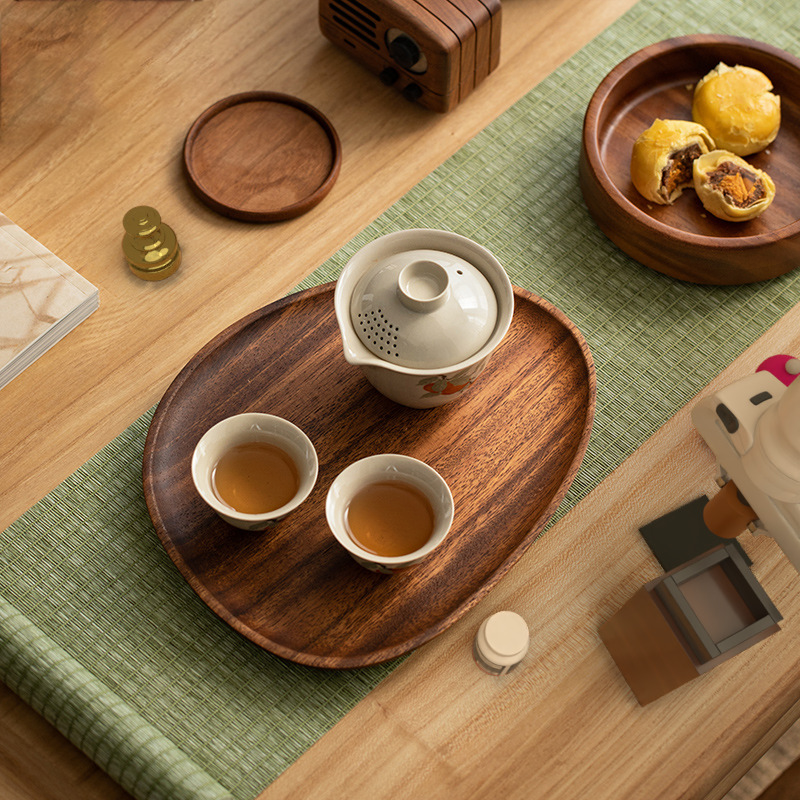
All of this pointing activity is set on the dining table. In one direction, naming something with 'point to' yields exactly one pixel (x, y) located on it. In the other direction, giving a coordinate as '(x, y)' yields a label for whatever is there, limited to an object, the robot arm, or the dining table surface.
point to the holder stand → (688, 623)
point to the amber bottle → (728, 512)
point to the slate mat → (684, 536)
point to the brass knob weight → (149, 244)
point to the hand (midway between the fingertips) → (738, 504)
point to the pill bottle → (501, 643)
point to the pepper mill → (781, 367)
